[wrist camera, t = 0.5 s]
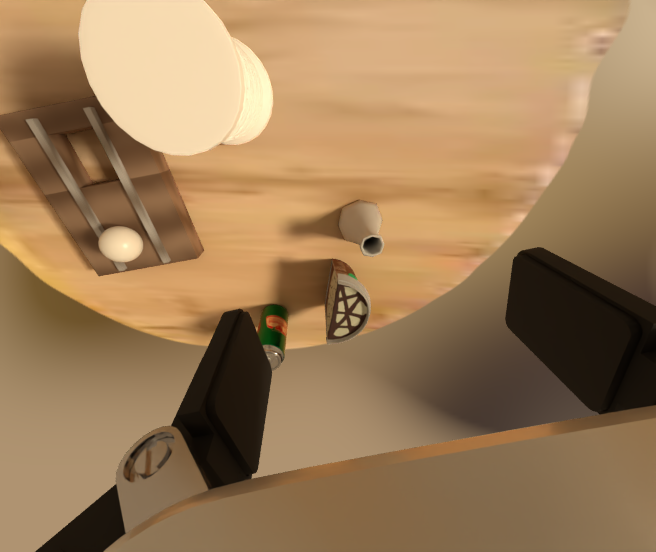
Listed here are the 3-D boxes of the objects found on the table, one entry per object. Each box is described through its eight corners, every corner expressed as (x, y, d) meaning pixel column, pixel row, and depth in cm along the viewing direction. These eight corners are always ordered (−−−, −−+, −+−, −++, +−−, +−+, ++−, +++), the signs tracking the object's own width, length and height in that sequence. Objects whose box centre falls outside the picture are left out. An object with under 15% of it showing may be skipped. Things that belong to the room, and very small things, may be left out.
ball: (105, 224, 40) (80, 237, 35) (139, 218, 40) (118, 230, 35) (124, 255, 42) (102, 271, 38) (156, 250, 42) (138, 265, 38)
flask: (382, 240, 47) (398, 267, 38) (339, 244, 47) (346, 273, 38) (382, 197, 43) (400, 216, 35) (336, 202, 43) (343, 222, 34)
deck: (15, 117, 35) (-15, 116, 32) (136, 92, 35) (118, 89, 32) (110, 267, 46) (95, 278, 43) (204, 250, 46) (195, 260, 42)
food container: (355, 311, 54) (364, 348, 45) (323, 309, 53) (326, 346, 44) (368, 254, 48) (381, 284, 39) (333, 250, 47) (339, 280, 38)
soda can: (293, 311, 53) (290, 358, 42) (279, 328, 55) (272, 377, 44) (271, 298, 51) (261, 344, 41) (256, 316, 53) (243, 364, 42)
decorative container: (159, 82, 35) (35, 50, 19) (226, 10, 32) (145, -98, 16) (228, 162, 39) (175, 189, 24) (291, 106, 37) (278, 95, 21)
